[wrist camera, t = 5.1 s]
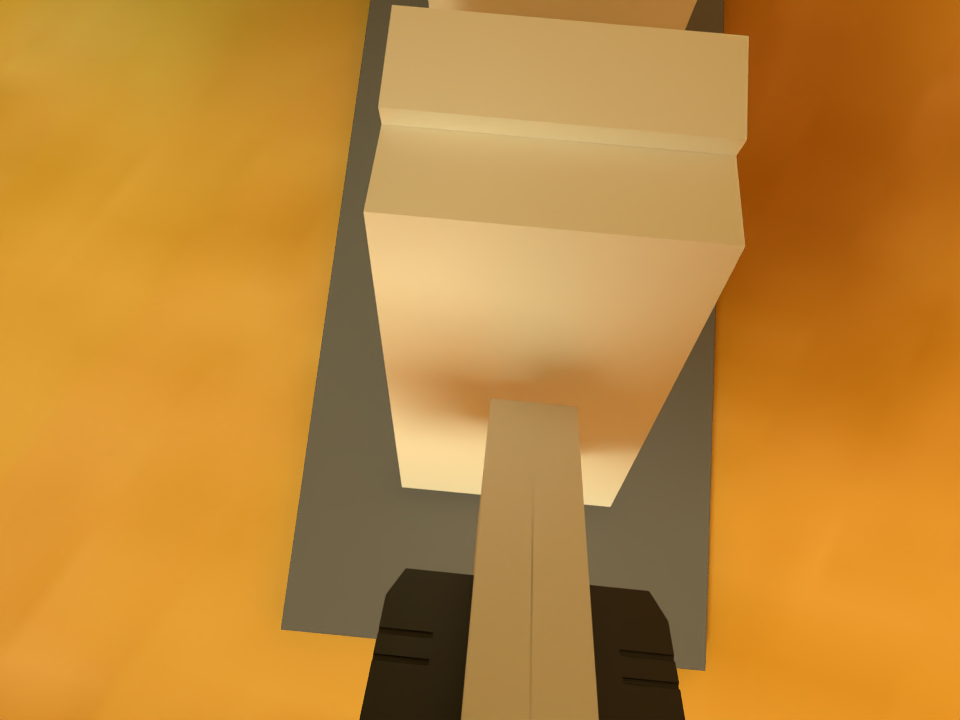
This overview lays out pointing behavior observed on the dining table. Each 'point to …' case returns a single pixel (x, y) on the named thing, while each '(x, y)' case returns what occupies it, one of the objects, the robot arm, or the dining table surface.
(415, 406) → the domino
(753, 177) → the dining table surface
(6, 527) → the dining table surface
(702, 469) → the mat
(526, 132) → the domino
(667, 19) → the domino
